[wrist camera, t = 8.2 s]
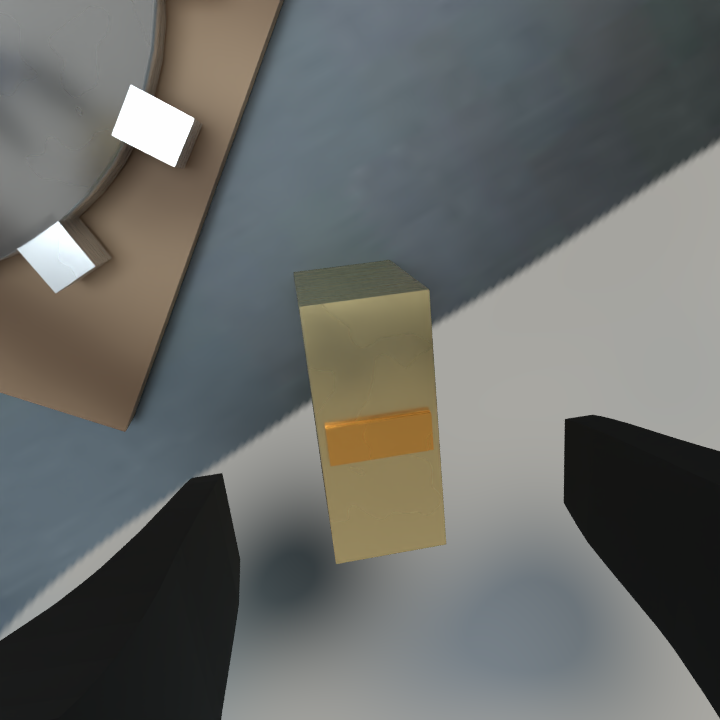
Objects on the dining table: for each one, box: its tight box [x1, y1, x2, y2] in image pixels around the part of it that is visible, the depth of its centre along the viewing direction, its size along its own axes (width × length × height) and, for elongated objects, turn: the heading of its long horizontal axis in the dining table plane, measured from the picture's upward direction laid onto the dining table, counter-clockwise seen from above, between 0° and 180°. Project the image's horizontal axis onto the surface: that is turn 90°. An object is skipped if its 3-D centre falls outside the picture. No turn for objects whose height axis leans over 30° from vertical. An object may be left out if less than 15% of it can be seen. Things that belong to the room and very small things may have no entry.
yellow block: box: [294, 260, 446, 564], centre depth 16 cm, size 7×3×5 cm, turn 6°
